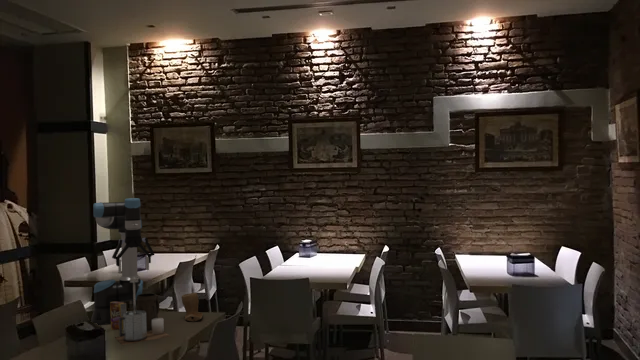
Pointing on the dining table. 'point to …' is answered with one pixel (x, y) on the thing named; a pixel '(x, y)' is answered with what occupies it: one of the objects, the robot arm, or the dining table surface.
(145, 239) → the robot arm
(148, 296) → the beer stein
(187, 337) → the dining table surface
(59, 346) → the dining table surface
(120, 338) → the serving board
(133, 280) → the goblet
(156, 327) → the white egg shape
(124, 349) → the dining table surface
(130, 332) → the grey octagonal container
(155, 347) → the dining table surface
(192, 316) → the brown boot
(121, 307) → the candy box
